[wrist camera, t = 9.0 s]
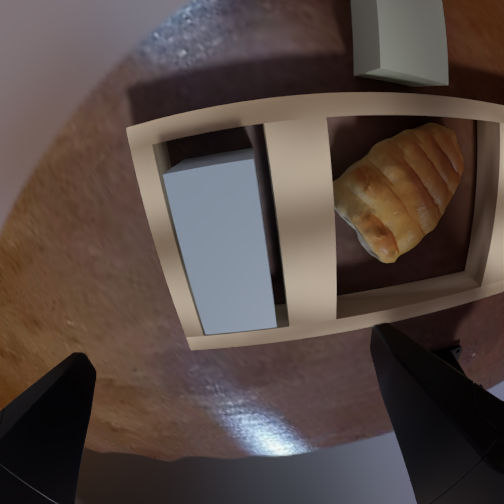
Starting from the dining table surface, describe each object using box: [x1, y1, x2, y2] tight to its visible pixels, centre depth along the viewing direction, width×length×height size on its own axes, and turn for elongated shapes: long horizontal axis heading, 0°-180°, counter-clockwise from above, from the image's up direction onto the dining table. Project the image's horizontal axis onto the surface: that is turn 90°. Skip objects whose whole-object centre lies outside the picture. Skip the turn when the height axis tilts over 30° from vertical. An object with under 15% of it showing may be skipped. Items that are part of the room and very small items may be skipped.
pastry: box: [333, 122, 464, 263], centre depth 15 cm, size 9×7×4 cm
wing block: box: [163, 148, 277, 334], centre depth 16 cm, size 9×4×4 cm, turn 8°
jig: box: [126, 92, 504, 350], centre depth 16 cm, size 14×31×2 cm, turn 99°
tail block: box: [350, 0, 449, 87], centre depth 11 cm, size 6×4×4 cm, turn 1°
